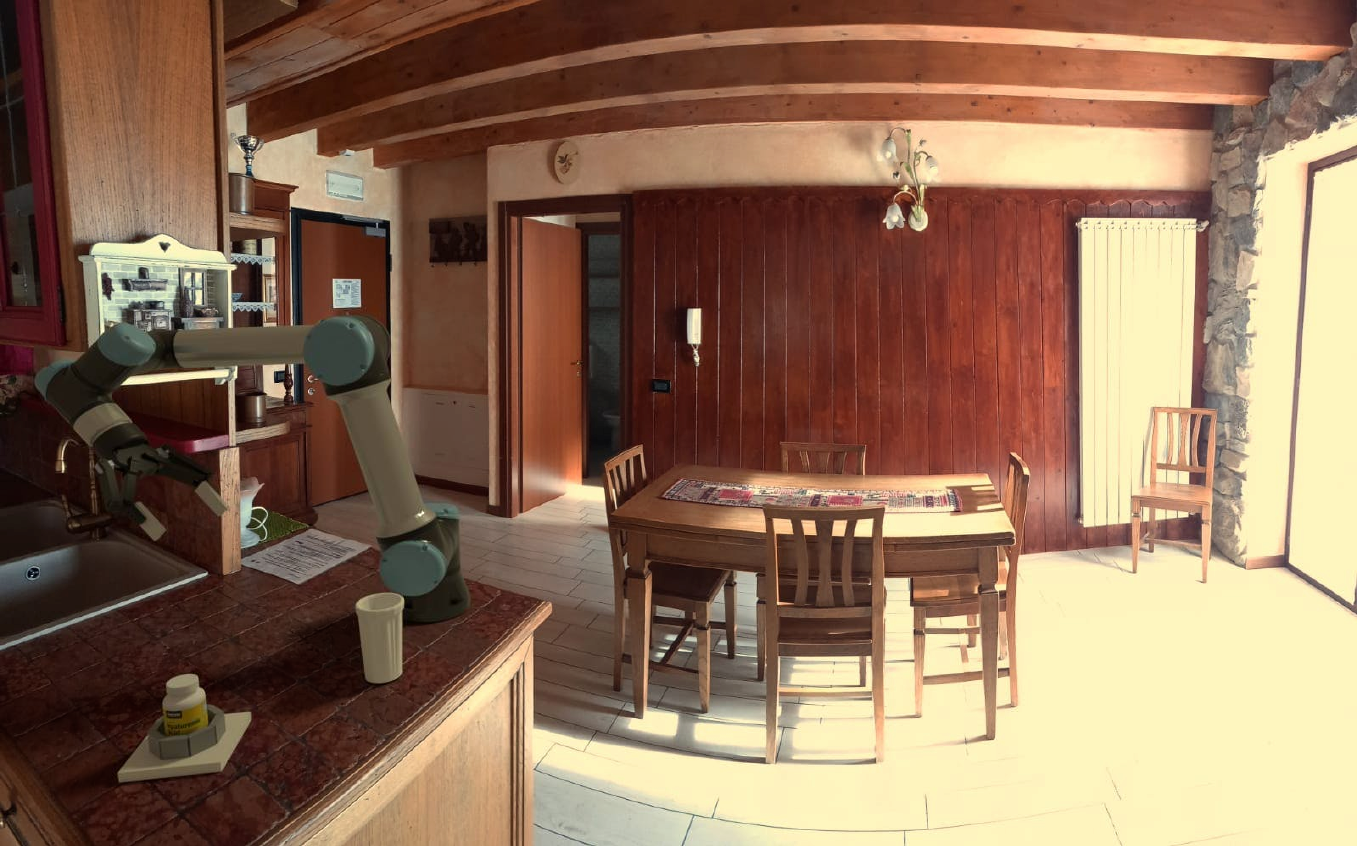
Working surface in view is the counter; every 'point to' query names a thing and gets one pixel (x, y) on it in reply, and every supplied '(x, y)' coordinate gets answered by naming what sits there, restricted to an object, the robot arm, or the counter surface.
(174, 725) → the supplement bottle
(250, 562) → the counter surface
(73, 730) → the counter surface
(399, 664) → the cup
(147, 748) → the holder
